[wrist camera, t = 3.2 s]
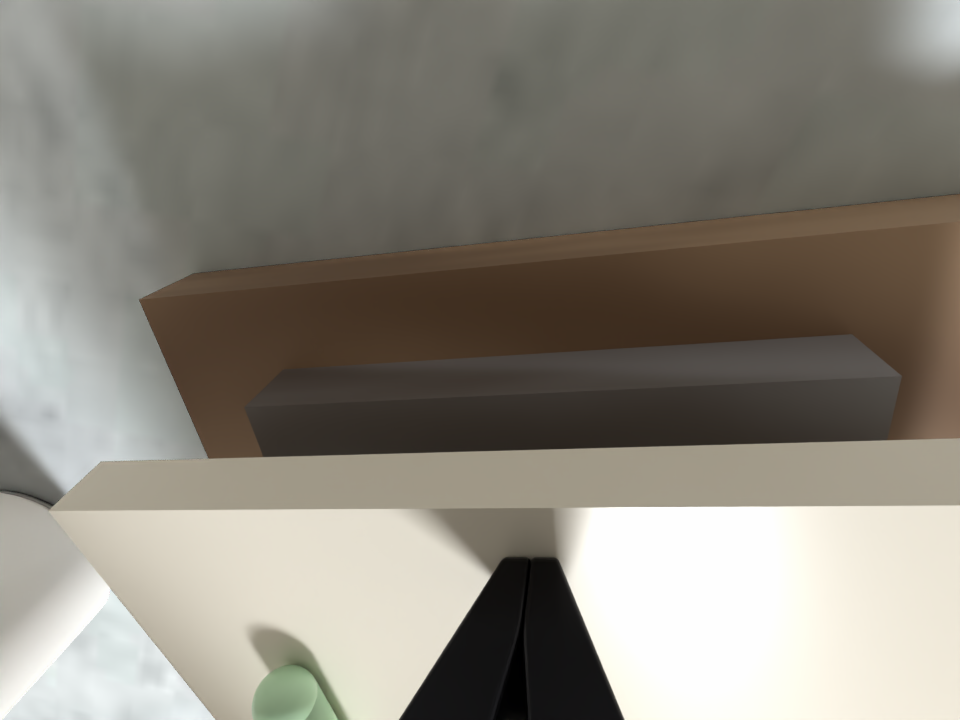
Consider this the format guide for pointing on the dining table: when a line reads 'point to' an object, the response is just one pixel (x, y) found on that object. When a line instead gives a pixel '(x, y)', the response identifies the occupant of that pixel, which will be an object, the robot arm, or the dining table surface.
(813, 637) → the plate
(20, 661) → the can
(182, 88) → the dining table surface
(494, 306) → the walnut base
